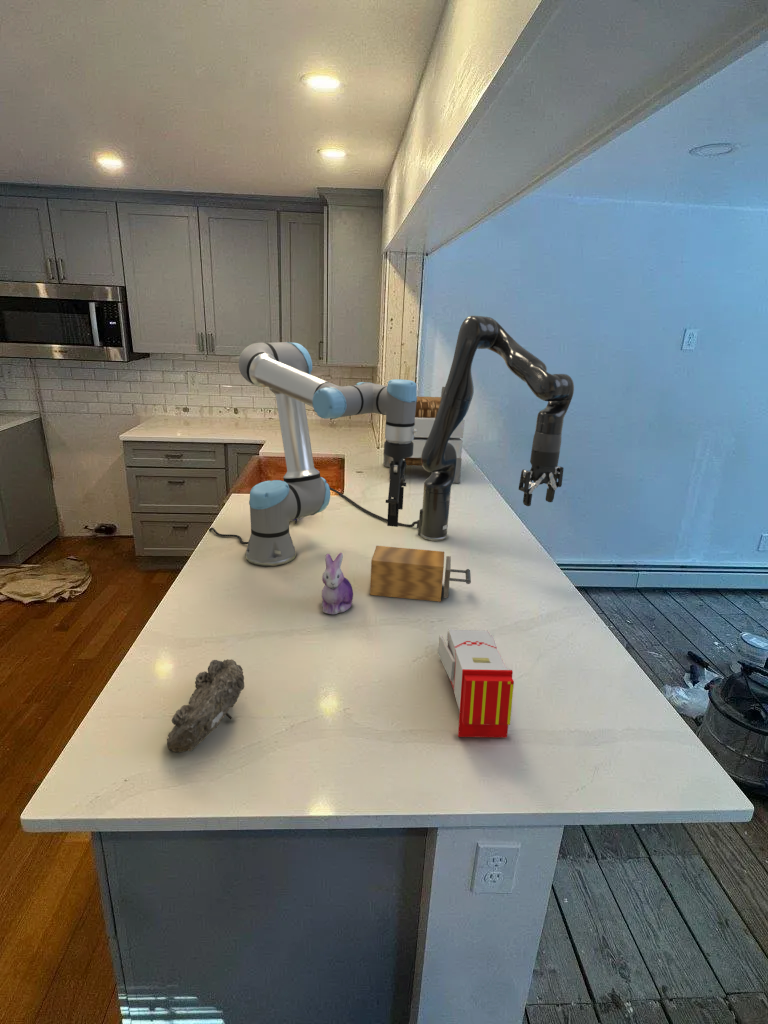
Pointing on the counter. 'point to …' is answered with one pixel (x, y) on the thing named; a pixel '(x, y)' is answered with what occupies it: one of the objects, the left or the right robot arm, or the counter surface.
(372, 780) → the counter surface
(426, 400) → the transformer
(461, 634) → the toy
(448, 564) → the drawer
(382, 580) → the cabinet
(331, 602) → the figurine
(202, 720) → the fossil
